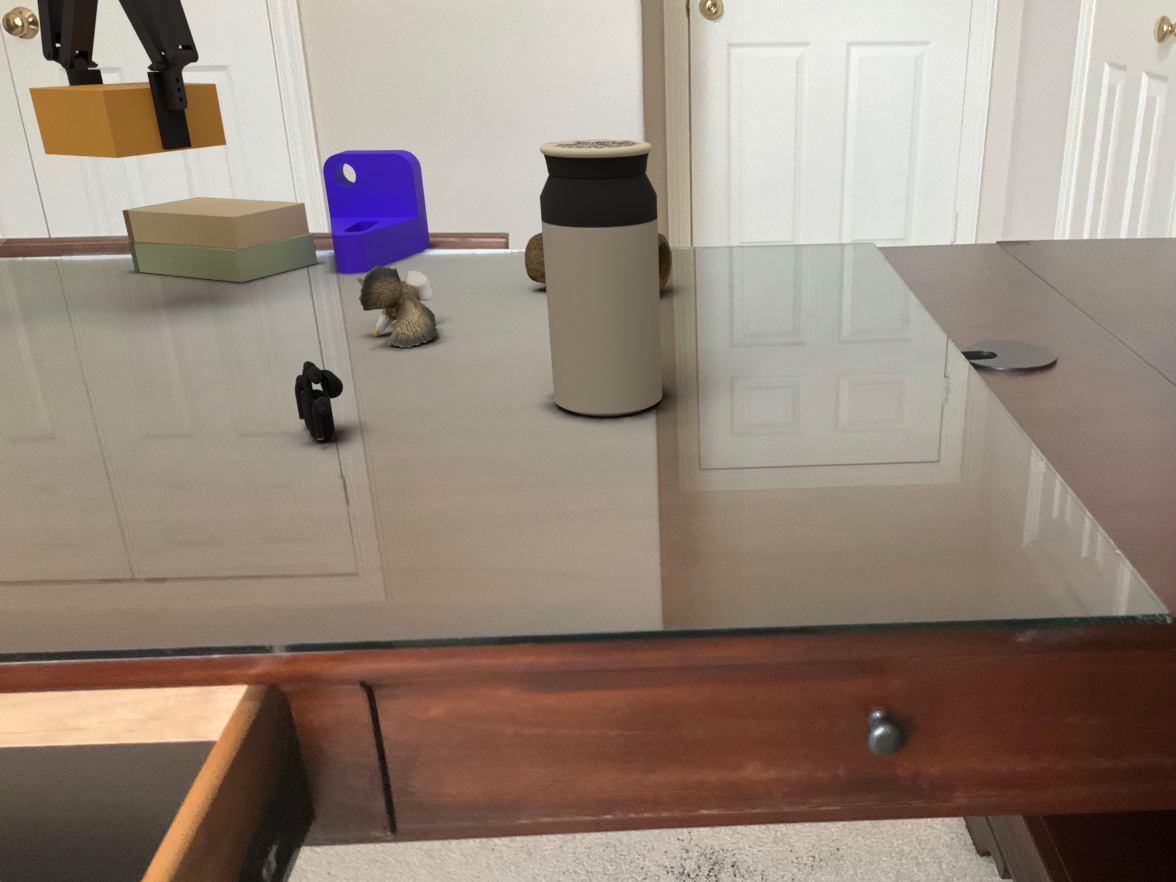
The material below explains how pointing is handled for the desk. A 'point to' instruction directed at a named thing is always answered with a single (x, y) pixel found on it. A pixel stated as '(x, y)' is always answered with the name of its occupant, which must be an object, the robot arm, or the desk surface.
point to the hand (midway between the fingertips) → (139, 145)
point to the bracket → (375, 208)
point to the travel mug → (602, 276)
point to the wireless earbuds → (317, 400)
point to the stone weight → (537, 265)
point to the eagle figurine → (399, 304)
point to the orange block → (119, 119)
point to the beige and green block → (220, 238)
